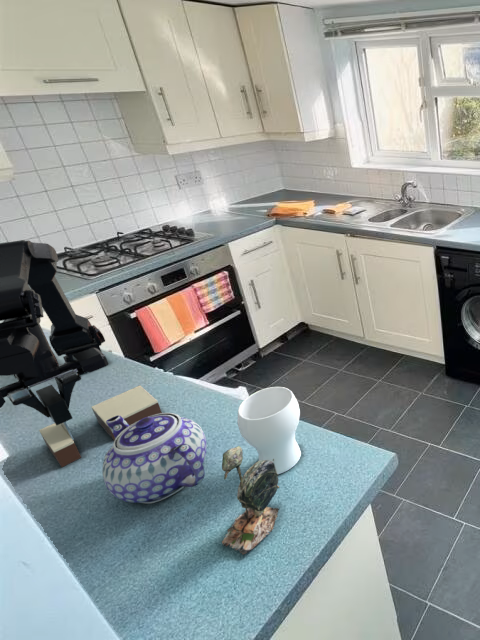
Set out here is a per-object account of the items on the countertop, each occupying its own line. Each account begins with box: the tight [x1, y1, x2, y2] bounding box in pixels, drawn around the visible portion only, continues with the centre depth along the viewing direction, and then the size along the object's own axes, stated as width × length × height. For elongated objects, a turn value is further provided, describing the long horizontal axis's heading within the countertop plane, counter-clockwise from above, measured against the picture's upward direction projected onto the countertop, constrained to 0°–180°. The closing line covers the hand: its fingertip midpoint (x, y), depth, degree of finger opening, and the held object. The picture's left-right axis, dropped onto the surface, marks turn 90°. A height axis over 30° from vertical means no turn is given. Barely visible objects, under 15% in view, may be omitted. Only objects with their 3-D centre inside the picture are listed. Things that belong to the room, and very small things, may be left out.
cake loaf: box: [91, 385, 163, 442], centre depth 97 cm, size 9×10×4 cm
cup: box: [236, 386, 302, 475], centre depth 85 cm, size 11×11×15 cm
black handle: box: [35, 384, 75, 441], centre depth 87 cm, size 2×8×10 cm, turn 57°
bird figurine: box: [221, 445, 280, 555], centre depth 72 cm, size 8×11×20 cm
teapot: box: [102, 412, 208, 504], centre depth 81 cm, size 25×15×15 cm, turn 66°
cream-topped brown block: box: [38, 422, 82, 468], centre depth 88 cm, size 3×10×4 cm, turn 57°
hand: (58, 412), depth 87 cm, fingers closed on black handle, 2 cm apart
